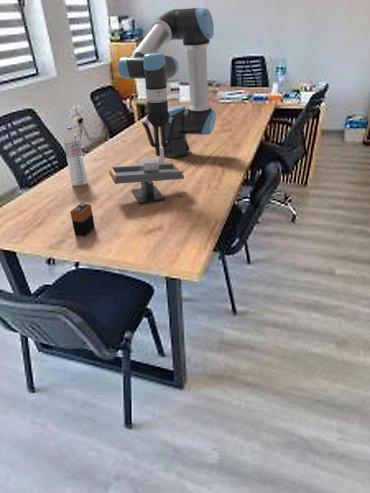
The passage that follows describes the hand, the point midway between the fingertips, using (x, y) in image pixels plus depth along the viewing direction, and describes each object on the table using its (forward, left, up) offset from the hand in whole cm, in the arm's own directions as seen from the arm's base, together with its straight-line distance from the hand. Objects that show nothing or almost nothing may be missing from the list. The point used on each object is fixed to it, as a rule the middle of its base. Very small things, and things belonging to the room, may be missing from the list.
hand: (161, 163), depth 157 cm
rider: (+5, 0, -3) cm, 6 cm away
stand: (+7, 0, -13) cm, 14 cm away
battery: (+35, +20, -13) cm, 42 cm away
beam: (+7, 0, -5) cm, 8 cm away
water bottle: (+31, -26, -13) cm, 42 cm away
